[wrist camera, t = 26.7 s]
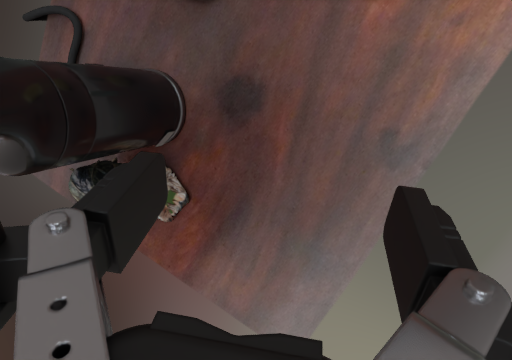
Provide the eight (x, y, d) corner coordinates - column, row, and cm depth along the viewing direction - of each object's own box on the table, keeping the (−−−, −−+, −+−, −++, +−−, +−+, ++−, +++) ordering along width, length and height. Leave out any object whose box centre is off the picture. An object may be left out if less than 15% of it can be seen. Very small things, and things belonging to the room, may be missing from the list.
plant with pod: (150, 132, 46) (-9, 159, 28) (198, 203, 46) (70, 277, 27) (115, 165, 49) (-47, 208, 31) (160, 231, 49) (23, 313, 31)
